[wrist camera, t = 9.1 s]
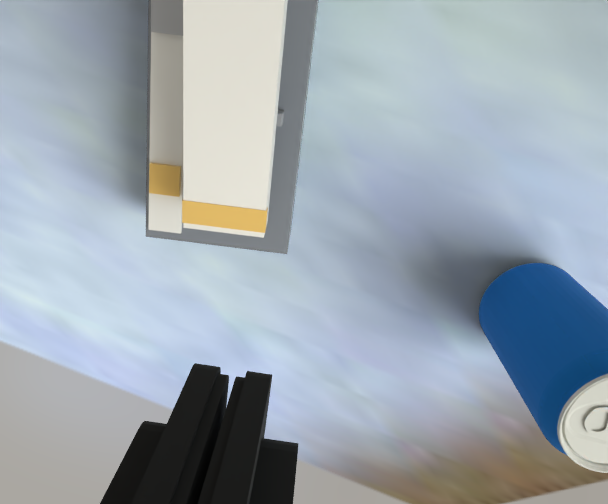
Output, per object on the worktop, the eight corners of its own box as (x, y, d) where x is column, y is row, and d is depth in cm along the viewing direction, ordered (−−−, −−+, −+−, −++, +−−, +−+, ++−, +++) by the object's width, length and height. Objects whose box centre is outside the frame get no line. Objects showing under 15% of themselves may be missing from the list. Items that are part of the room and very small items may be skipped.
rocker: (289, -11, 22) (286, -8, 20) (268, 221, 27) (264, 238, 26) (192, -24, 22) (181, -22, 20) (190, 211, 27) (182, 227, 26)
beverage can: (566, 345, 35) (679, 481, 24) (470, 345, 36) (539, 479, 24) (583, 257, 33) (717, 363, 22) (480, 258, 33) (562, 363, 22)
